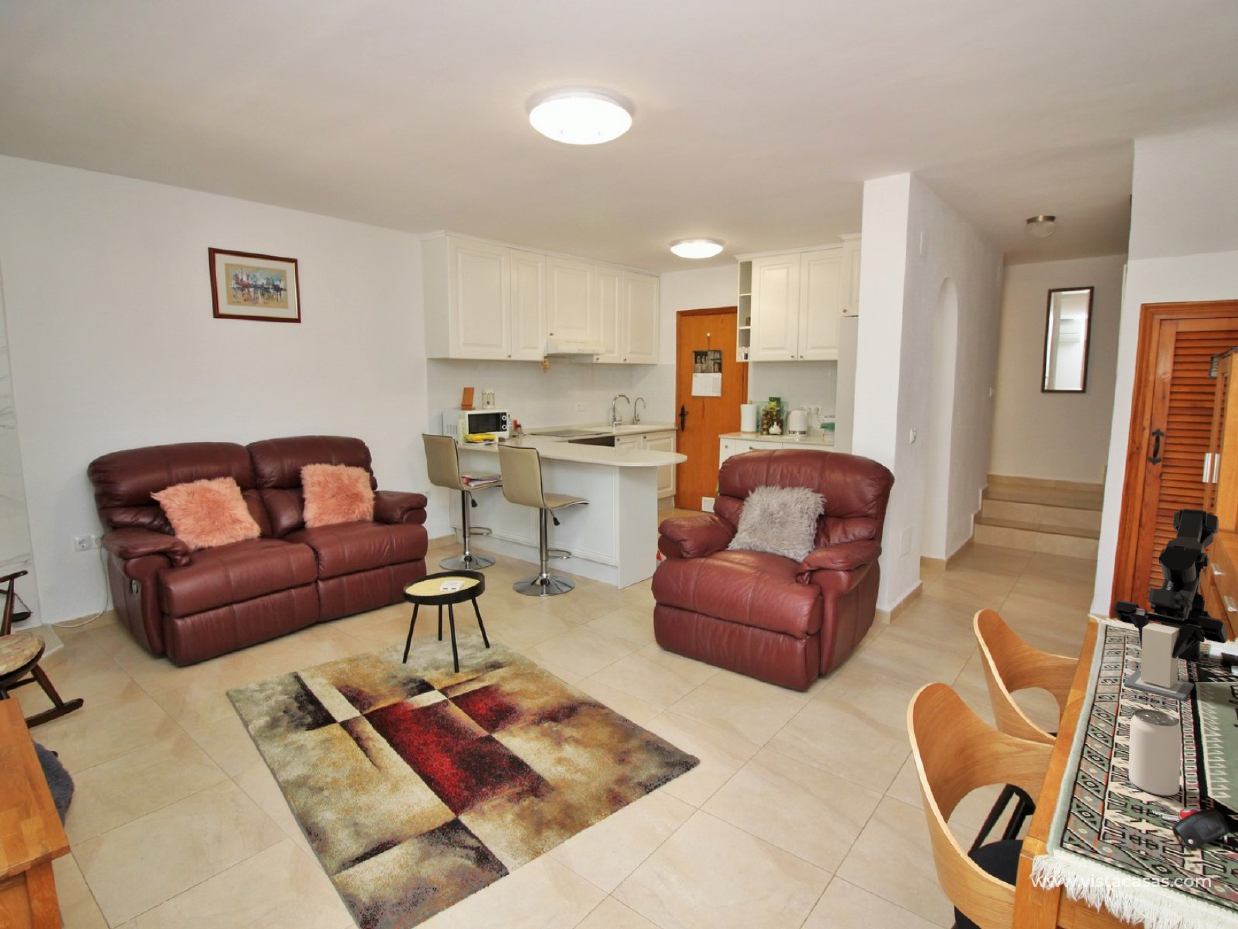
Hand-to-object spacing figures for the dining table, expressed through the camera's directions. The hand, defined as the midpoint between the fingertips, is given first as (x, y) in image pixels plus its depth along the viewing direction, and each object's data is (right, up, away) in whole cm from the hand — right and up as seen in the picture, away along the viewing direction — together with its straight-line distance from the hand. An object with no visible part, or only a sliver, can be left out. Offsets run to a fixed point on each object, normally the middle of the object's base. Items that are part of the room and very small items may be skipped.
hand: (1157, 653), depth 138 cm
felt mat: (+2, -8, +1) cm, 8 cm away
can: (-29, -12, -33) cm, 45 cm away
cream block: (+2, -6, +1) cm, 7 cm away
